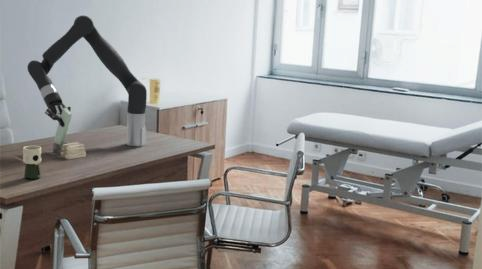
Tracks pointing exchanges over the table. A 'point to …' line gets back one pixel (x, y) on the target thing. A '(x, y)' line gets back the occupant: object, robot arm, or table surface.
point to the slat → (61, 130)
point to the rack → (68, 150)
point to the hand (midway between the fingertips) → (65, 125)
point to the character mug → (32, 161)
